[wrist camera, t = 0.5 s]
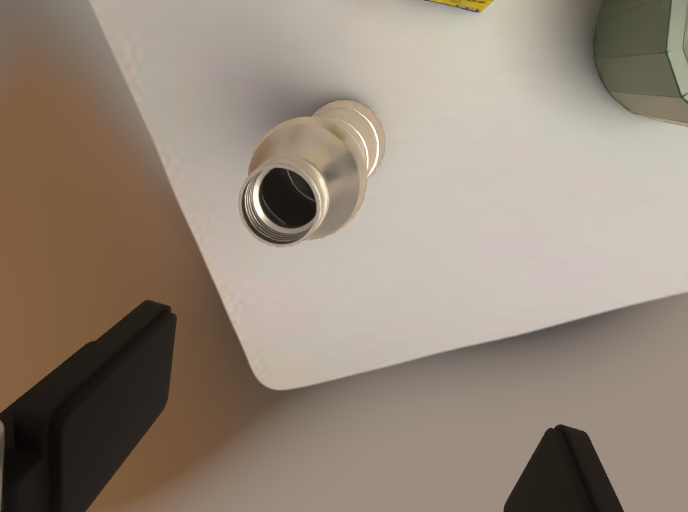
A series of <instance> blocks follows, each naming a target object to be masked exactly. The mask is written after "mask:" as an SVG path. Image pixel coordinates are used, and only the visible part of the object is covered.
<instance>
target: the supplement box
mask: <svg viewBox="0 0 688 512" xmlns="http://www.w3.org/2000/svg"><path fill="white" fill-rule="evenodd" d="M426 1H431V2H436V3H441V4H446V5H450V6H455V7H459V8H462V9H466V10H470V11H474V12H481V11H482V10H484V9H485V8H486V7H487V6H488V5H489V4H490V3H491V2H492V1H493V0H426Z"/></svg>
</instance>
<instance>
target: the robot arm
mask: <svg viewBox="0 0 688 512" xmlns="http://www.w3.org/2000/svg"><path fill="white" fill-rule="evenodd" d="M176 321H177V317H176V315H175V314H173V313H171V307H170V306H167V305H164V304H161V303H157V302H154V301H151V300H146V301H144V302H143V303H141V304H140V305H139V306H138V307H136V308H135V309H134V310H133V311H131V312H130V313H129V314H128V315H127V316H125V317H124V318H123V319H122V320H121V321H119V322H118V323H117V324H116V325H114V326H113V327H112V328H111V329H109V330H108V331H107V332H106V333H105V334H103V335H102V336H101V337H100V338H98V339H97V340H96V341H92V342H89V343H88V344H86V345H84V346H83V347H82V348H81V349H79V350H78V351H77V352H76V353H75V354H73V355H72V356H71V357H69V358H68V359H67V360H66V361H64V362H63V363H62V364H61V365H60V366H58V367H57V368H56V369H55V370H53V371H52V372H51V373H50V374H48V375H47V376H46V377H45V378H43V379H42V380H41V381H40V382H38V383H37V384H36V385H35V386H33V387H32V388H31V389H30V390H28V391H27V392H26V393H25V394H24V395H22V396H21V397H20V398H19V399H17V400H16V401H15V402H14V403H12V404H11V405H10V406H9V407H7V408H6V409H5V410H4V411H2V412H1V413H0V512H85V511H86V510H87V509H88V508H89V506H90V505H91V504H92V502H93V501H94V500H95V499H96V497H97V496H98V495H99V493H100V492H101V491H102V489H103V488H104V487H105V485H106V484H107V483H108V482H109V480H110V479H111V478H112V476H113V475H114V474H115V472H116V471H117V470H118V469H119V467H120V466H121V465H122V463H123V462H124V461H125V459H126V458H127V457H128V456H129V454H130V453H131V452H132V450H133V449H134V448H135V446H136V445H137V444H138V442H139V441H140V440H141V439H142V437H143V436H144V435H145V433H146V432H147V431H148V429H149V428H150V427H151V425H152V424H153V423H154V422H155V420H156V419H157V418H158V416H159V415H160V414H161V412H162V411H163V409H164V407H165V405H166V403H167V400H168V394H169V385H170V376H171V366H172V357H173V348H174V339H175V330H176ZM504 512H624V511H623V509H622V506H621V504H620V502H619V500H618V498H617V496H616V494H615V491H614V489H613V487H612V485H611V483H610V481H609V479H608V477H607V474H606V473H605V470H604V468H603V466H602V464H601V462H600V460H599V457H598V455H597V453H596V451H595V449H594V447H593V445H592V443H591V440H590V438H589V436H588V435H587V433H586V432H584V431H581V430H578V429H575V428H571V427H568V426H565V425H557V426H556V427H555V428H554V429H553V428H549V429H548V430H547V431H546V432H545V434H544V436H543V437H542V439H541V441H540V443H539V444H538V446H537V448H536V450H535V452H534V453H533V455H532V457H531V459H530V460H529V462H528V464H527V466H526V468H525V469H524V471H523V473H522V475H521V476H520V478H519V480H518V482H517V484H516V485H515V487H514V489H513V490H512V492H511V494H510V496H509V498H508V499H507V501H506V503H505V506H504Z"/></svg>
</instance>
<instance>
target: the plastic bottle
mask: <svg viewBox="0 0 688 512" xmlns="http://www.w3.org/2000/svg"><path fill="white" fill-rule="evenodd" d="M384 152H385V135H384V130H383V128H382V125H381V123H380V121H379V119H378V118H377V116H376V115H375V114H374V113H373V112H372V111H371V110H370V109H369V108H367V107H366V106H364V105H363V104H360V103H358V102H355V101H350V100H338V101H334V102H330V103H328V104H326V105H324V106H323V107H321V108H320V109H319V110H317V111H316V112H315V113H314V115H313V116H312V117H298V118H293V119H289V120H286V121H284V122H282V123H280V124H278V125H276V126H275V127H274V128H272V129H271V130H270V131H268V132H267V133H266V134H265V136H264V137H263V138H262V139H261V140H260V142H259V143H258V145H257V147H256V149H255V151H254V153H253V156H252V159H251V163H250V166H249V171H248V177H247V179H246V180H245V182H244V184H243V186H242V188H241V191H240V194H239V202H238V203H239V212H240V215H241V219H242V221H243V223H244V225H245V227H246V228H247V229H248V231H249V232H250V233H251V234H252V235H253V236H254V237H255V238H256V239H258V240H259V241H261V242H263V243H265V244H267V245H270V246H275V247H289V246H293V245H296V244H298V243H300V242H302V241H304V240H313V239H319V238H323V237H326V236H328V235H331V234H334V233H336V232H337V231H339V230H340V229H342V228H344V227H345V226H346V225H347V224H348V223H349V222H350V221H351V220H352V219H353V218H354V216H355V215H356V213H357V212H358V211H359V209H360V206H361V204H362V202H363V200H364V195H365V191H366V186H367V180H368V179H369V178H370V177H371V176H372V175H373V174H374V173H375V172H376V170H377V169H378V167H379V166H380V164H381V162H382V159H383V156H384Z"/></svg>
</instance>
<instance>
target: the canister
mask: <svg viewBox="0 0 688 512" xmlns="http://www.w3.org/2000/svg"><path fill="white" fill-rule="evenodd" d="M594 54H595V61H596V66H597V69H598V72H599V75H600V77H601V80H602V82H603V84H604V86H605V87H606V88H607V90H608V91H609V93H610V94H611V95H612V96H613V97H614V98H615V99H616V100H617V101H618V102H619V103H620V104H621V105H623V106H624V107H625V108H627V109H629V110H630V111H631V112H633V113H634V114H638V115H641V116H645V117H648V118H652V119H656V120H659V121H663V122H667V123H672V124H677V125H682V126H687V127H688V0H603V3H602V6H601V8H600V11H599V14H598V18H597V22H596V27H595V35H594Z"/></svg>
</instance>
